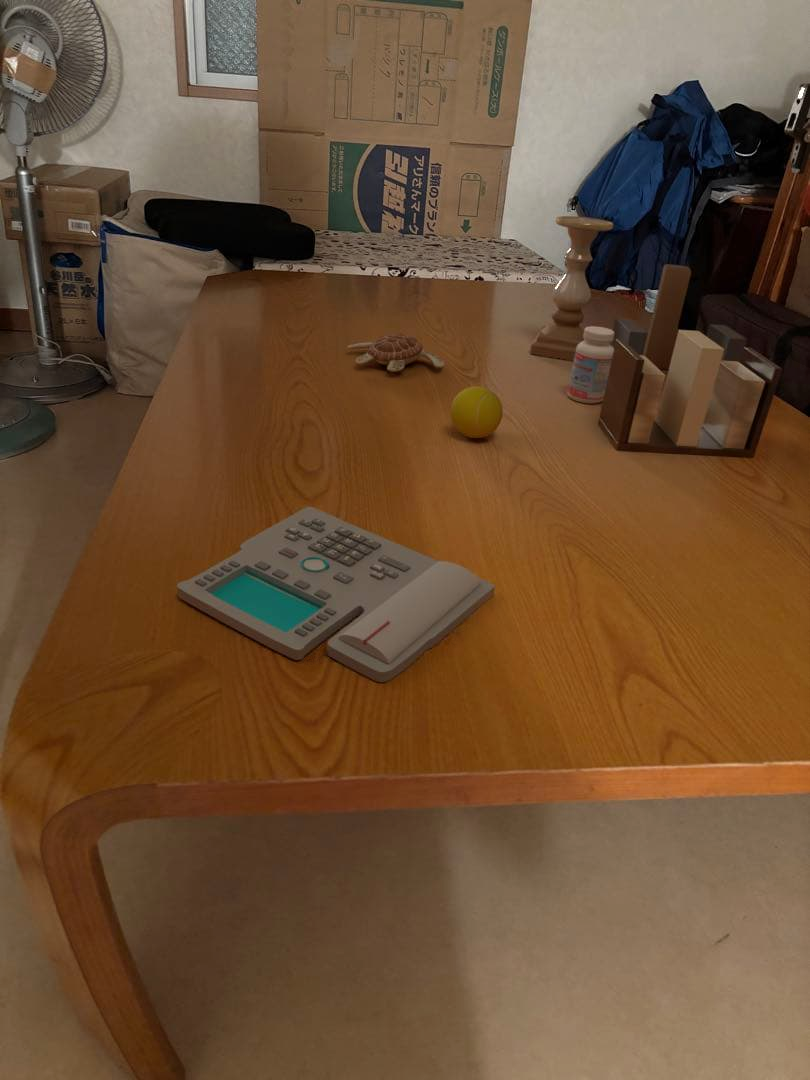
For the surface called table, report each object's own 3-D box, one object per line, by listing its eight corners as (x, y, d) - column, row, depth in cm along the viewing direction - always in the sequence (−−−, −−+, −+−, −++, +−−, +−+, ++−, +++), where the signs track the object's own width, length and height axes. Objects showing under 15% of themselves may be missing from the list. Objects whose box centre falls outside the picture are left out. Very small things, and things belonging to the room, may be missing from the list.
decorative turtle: (459, 361, 140) (463, 334, 137) (423, 385, 126) (425, 355, 124) (370, 342, 146) (371, 316, 143) (326, 364, 132) (326, 335, 130)
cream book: (674, 423, 117) (699, 330, 110) (696, 446, 109) (724, 349, 102) (655, 422, 117) (678, 329, 110) (676, 445, 109) (702, 347, 102)
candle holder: (529, 354, 147) (550, 219, 135) (537, 340, 156) (558, 213, 144) (586, 363, 145) (613, 227, 133) (592, 348, 154) (617, 220, 142)
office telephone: (499, 572, 73) (376, 680, 58) (495, 595, 74) (374, 706, 60) (309, 494, 83) (163, 569, 69) (308, 515, 85) (165, 593, 70)
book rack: (725, 431, 119) (750, 347, 112) (753, 457, 110) (782, 368, 103) (597, 424, 117) (616, 338, 111) (616, 450, 108) (637, 359, 102)
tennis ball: (438, 432, 109) (443, 384, 106) (473, 423, 113) (479, 377, 110) (473, 449, 105) (479, 400, 101) (508, 439, 109) (515, 391, 105)
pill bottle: (559, 393, 128) (571, 325, 122) (588, 390, 131) (601, 324, 125) (582, 406, 123) (596, 336, 118) (612, 402, 126) (627, 334, 120)
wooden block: (689, 366, 148) (715, 269, 139) (691, 373, 144) (718, 273, 135) (641, 360, 149) (664, 263, 140) (642, 367, 146) (665, 267, 137)
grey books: (710, 379, 142) (725, 325, 137) (730, 396, 134) (747, 339, 129) (603, 373, 140) (615, 317, 135) (617, 389, 132) (630, 331, 127)
